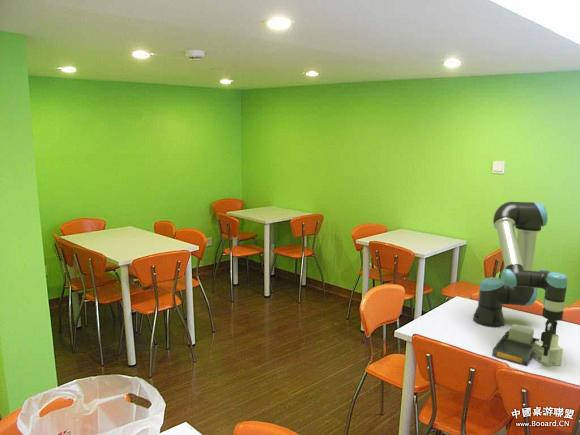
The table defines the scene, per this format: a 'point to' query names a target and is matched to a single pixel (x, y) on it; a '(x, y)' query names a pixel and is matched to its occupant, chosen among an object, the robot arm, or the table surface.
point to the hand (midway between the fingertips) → (547, 357)
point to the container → (554, 351)
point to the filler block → (521, 334)
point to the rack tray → (514, 350)
